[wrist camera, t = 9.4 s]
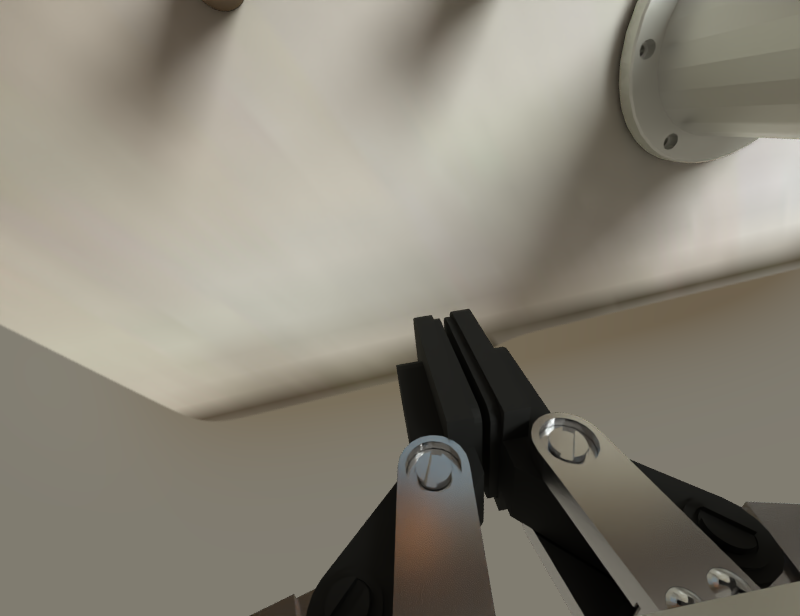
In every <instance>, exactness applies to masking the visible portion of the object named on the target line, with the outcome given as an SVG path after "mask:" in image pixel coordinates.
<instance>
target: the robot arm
mask: <svg viewBox="0 0 800 616" xmlns="http://www.w3.org/2000/svg"><path fill="white" fill-rule="evenodd" d="M619 92H620V102H621V109H622V112H623V115H624V119H625V122H626V125H627V127H628V129H629V131H630V132H631V134H632V136H633V137H634V139H635V141H636V142H637V143H638V144H639V145H640V146H641V147H643V148H644V149H645V150H646V151H647V152H648V153H650V154H652V155H654V156H656V157H658V158H660V159H664V160H669V161H674V162H683V163H700V162H707V161H713V160H716V159H719V158H722V157H725V156H728V155H730V154H733V153H734V152H736V151H738V150H740V149H742V148H744V147H746V146H748V145H750V144H751V143H753V142H754V141H755V140H757V139H758V138H781V139H800V0H638V2H637V4H636V6H635V9H634V12H633V15H632V18H631V21H630V23H629V26H628V29H627V32H626V36H625V41H624V46H623V50H622V55H621V60H620V74H619ZM413 320H414V330H415V339H416V348H417V357H418V362H412V363H406V364H400V365H396V367H397V374H398V380H399V386H400V393H401V398H402V405H403V410H404V416H405V422H406V427H407V433H408V439H409V445H408V446H407V447H406V448H405V449H404V450H403V452H402V454H401V456H400V459H399V463H398V474H397V482H396V484H395V485H394V486H393V488H392V489H391V490H390V491H389V493H388V494H387V495H386V497H385V498H384V499H383V501H382V502H381V503H380V504H379V506H378V507H377V508H376V509H375V511H374V512H373V513H372V515H371V516H370V517H369V519H368V520H367V521H366V522H365V524H364V525H363V526H362V527H361V529H360V530H359V531H358V533H357V534H356V535H355V536H354V538H353V539H352V540H351V542H350V543H349V544H348V546H347V547H346V548H345V549H344V551H343V552H342V553H341V555H340V556H339V557H338V558H337V560H336V561H335V562H334V564H333V565H332V566H331V568H330V569H329V570H328V571H327V573H326V574H325V575H324V577H323V578H322V579H321V580H320V582H319V584H318V585H317V587H316V589H314V590H312V591H310V592H308V593H306V594H304V595H302V596H300V597H298V598H296V597H295V595H294V594H293V595H291V596H289V597H287V598H285V599H283V600H281V601H279V602H277V603H275V604H273V605H270V606H268V607H267V608H264V609H262V610H260V611H258V612H256V613H254V614H252V615H250V616H496V615H495V609H494V603H493V598H492V592H491V586H490V580H489V575H488V569H487V563H486V557H485V551H484V545H483V539H482V534H481V528H480V527H481V525H482V523H483V514H484V512H483V511H484V492H485V495H486V497H487V498H492V497H494V499H495V502H496V504H497V507H498V509H499V511H500V510H505V509H508V511H509V513H510V516H512V517H513V518H515V519H517V520H518V521H520V522H521V523H522V526H523V528H524V530H525V533H526V535H527V537H528V539H529V540H530V542H531V544H532V546H533V547H534V549H535V551H536V552H537V554H538V556H539V558H540V559H541V561H542V563H543V565H544V566H545V568H546V570H547V572H548V573H549V575H550V577H551V579H552V580H553V582H554V584H555V586H556V587H557V589H558V591H559V592H560V594H561V596H562V598H563V600H564V601H565V603H566V605H567V607H568V608H569V610H570V612H571V613H572V615H573V616H800V504H788V503H765V502H745V503H744V505H743V506H742V507H740V506H738V505H736V504H733V503H732V502H730V501H728V500H726V499H724V498H722V497H719V496H717V495H715V494H712V493H709V492H707V491H705V490H702V489H700V488H698V487H695V486H693V485H690V484H688V483H685V482H683V481H681V480H678V479H676V478H673V477H671V476H668V475H666V474H664V473H661V472H658V471H656V470H654V469H651V468H649V467H647V466H644V465H642V464H640V463H637V462H635V461H632V460H630V459H628V458H627V457H626V456H625V455H624V454H623V453H622V452H621V451H620V450H619V449H618V448H617V447H616V446H615V445H614V444H613V443H612V442H611V441H610V440H609V439H608V438H607V437H606V436H605V435H604V434H603V433H602V432H601V431H600V430H599V429H598V428H596V427H595V426H594V425H593V424H591V423H590V422H589V421H587V420H585V419H583V418H581V417H579V416H575V415H572V414H568V413H558V412H555V413H550V411H549V410H548V409H547V407H546V405H545V404H544V403H543V401H542V400H541V398H540V397H539V396H538V394H537V393H536V391H535V389H534V388H533V386H532V385H531V384H530V382H529V381H528V379H527V378H526V376H525V375H524V373H523V372H522V370H521V369H520V368H519V366H518V364H517V363H516V361H515V360H514V359H513V357H512V356H511V354H510V353H509V351H508V350H507V349H506V348H505V347H499V348H494V347H493V346H492V344H491V343H490V341H489V340H488V338H487V336H486V335H485V333H484V332H483V330H482V328H481V327H480V325H479V324H478V322H477V320H476V319H475V317H474V316H473V314H472V312H471V311H470V310H469V309H465V310H459V311H453V312H450V317H446V318H444V327H443V325H442V323H441V321H440V319H433V317H432V315H429V316H423V317H417V318H414V319H413Z"/></svg>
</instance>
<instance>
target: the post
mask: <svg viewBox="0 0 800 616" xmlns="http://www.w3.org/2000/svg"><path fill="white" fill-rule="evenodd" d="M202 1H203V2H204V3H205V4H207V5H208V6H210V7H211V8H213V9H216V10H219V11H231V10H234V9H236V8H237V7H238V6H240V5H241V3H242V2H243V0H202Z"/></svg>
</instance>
